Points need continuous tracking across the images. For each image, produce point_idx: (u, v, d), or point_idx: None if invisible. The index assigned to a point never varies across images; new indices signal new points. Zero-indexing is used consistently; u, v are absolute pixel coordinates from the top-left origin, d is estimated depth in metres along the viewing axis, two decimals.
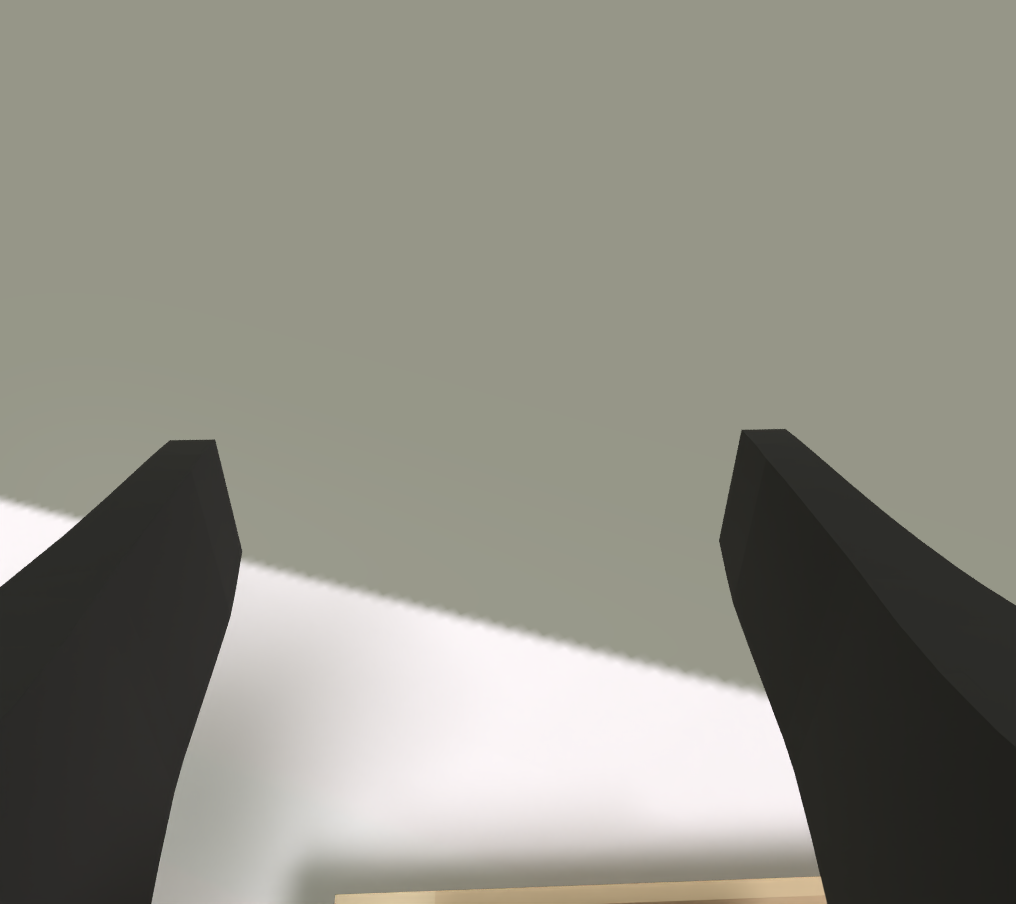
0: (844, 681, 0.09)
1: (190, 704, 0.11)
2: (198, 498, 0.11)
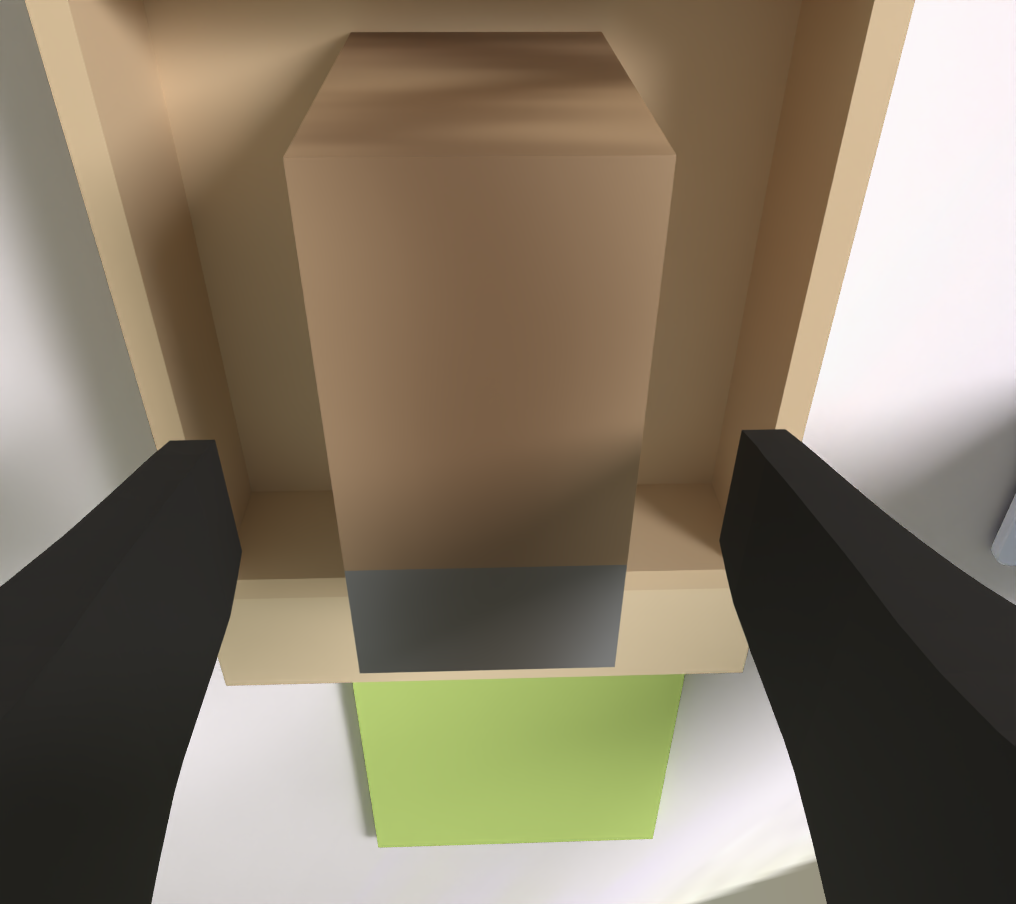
0: (844, 681, 0.09)
1: (190, 704, 0.11)
2: (198, 498, 0.11)
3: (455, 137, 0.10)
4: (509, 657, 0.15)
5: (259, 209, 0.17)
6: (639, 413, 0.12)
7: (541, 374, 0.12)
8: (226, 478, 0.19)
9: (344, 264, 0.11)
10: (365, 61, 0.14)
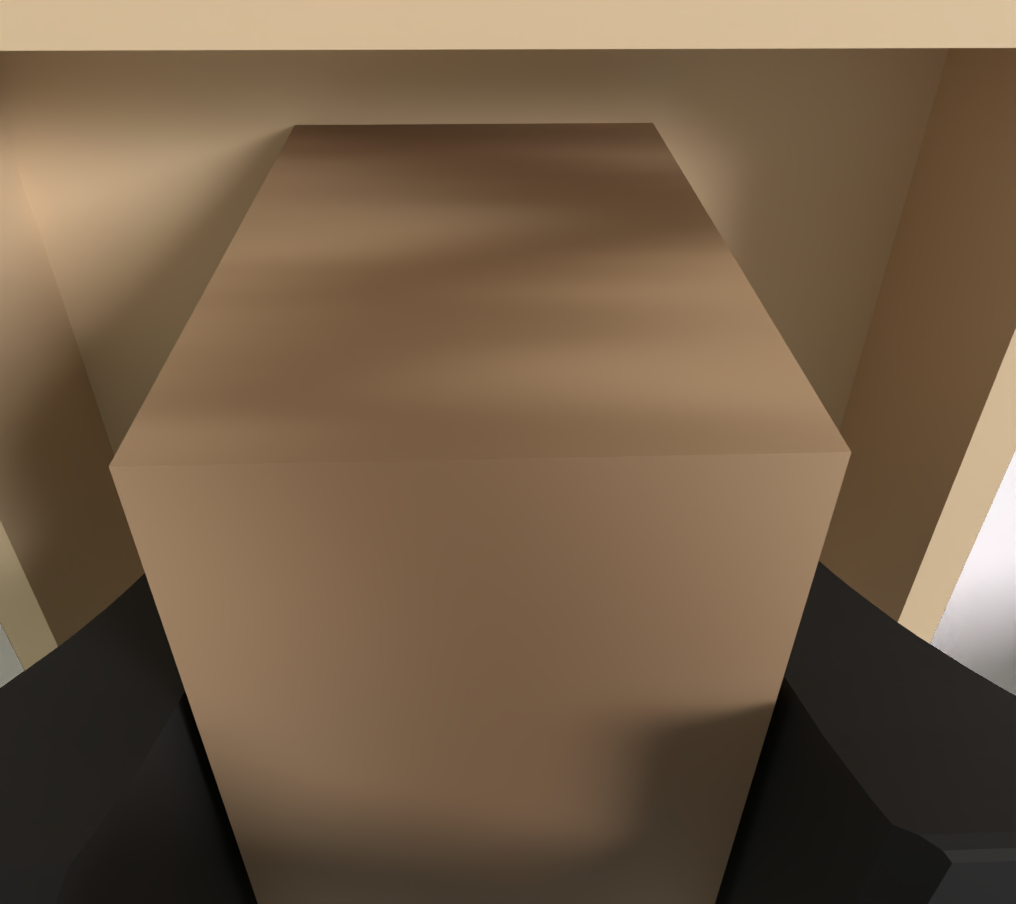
0: None
1: None
2: None
3: (438, 395, 0.06)
4: None
5: None
6: (740, 783, 0.07)
7: (584, 745, 0.07)
8: None
9: (240, 616, 0.06)
10: (306, 188, 0.09)
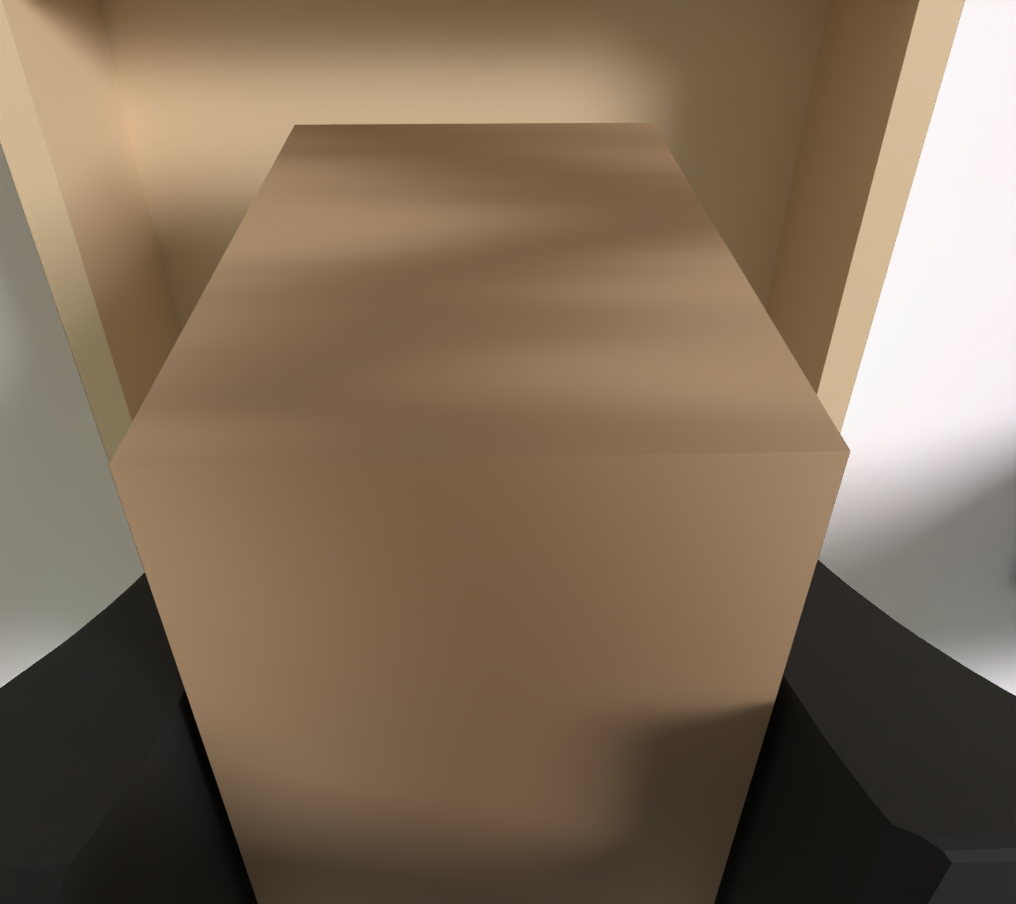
0: None
1: None
2: None
3: (436, 394, 0.06)
4: None
5: None
6: (740, 782, 0.07)
7: (584, 743, 0.07)
8: None
9: (240, 615, 0.06)
10: (306, 188, 0.09)
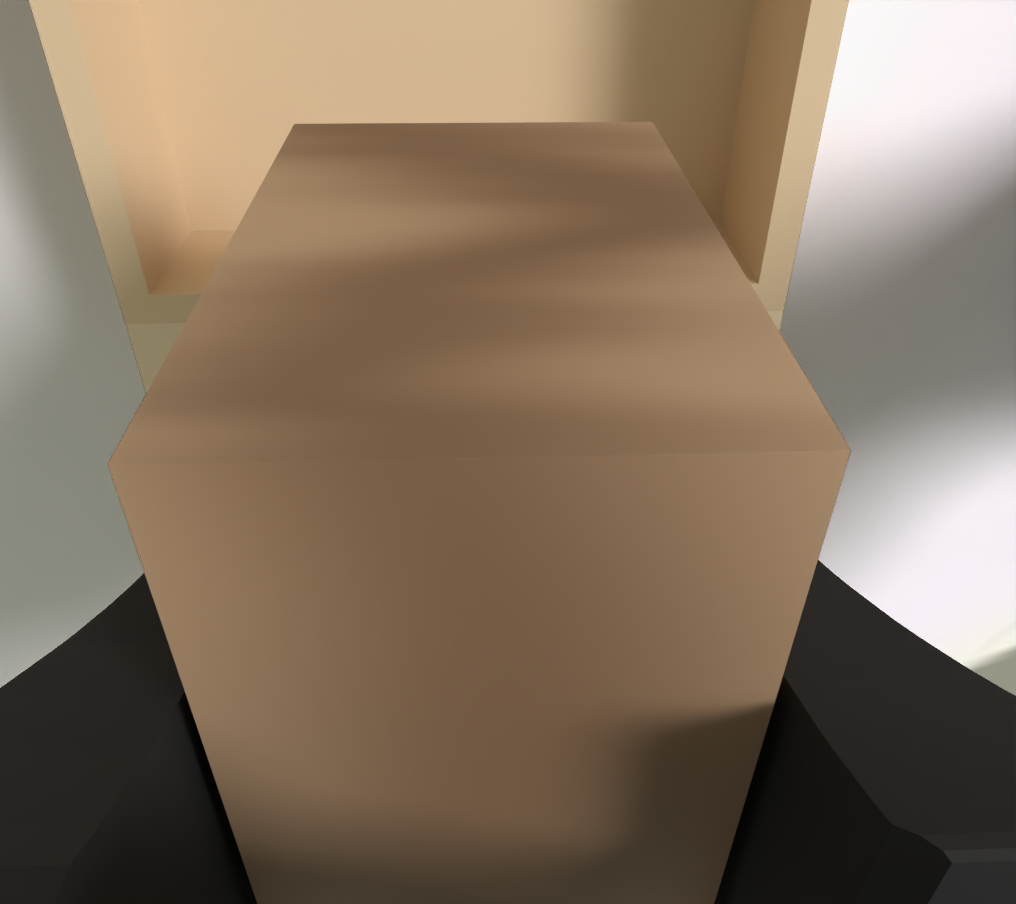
0: None
1: None
2: None
3: (436, 393, 0.06)
4: None
5: None
6: (740, 782, 0.07)
7: (584, 743, 0.07)
8: (154, 183, 0.17)
9: (239, 614, 0.06)
10: (305, 187, 0.09)
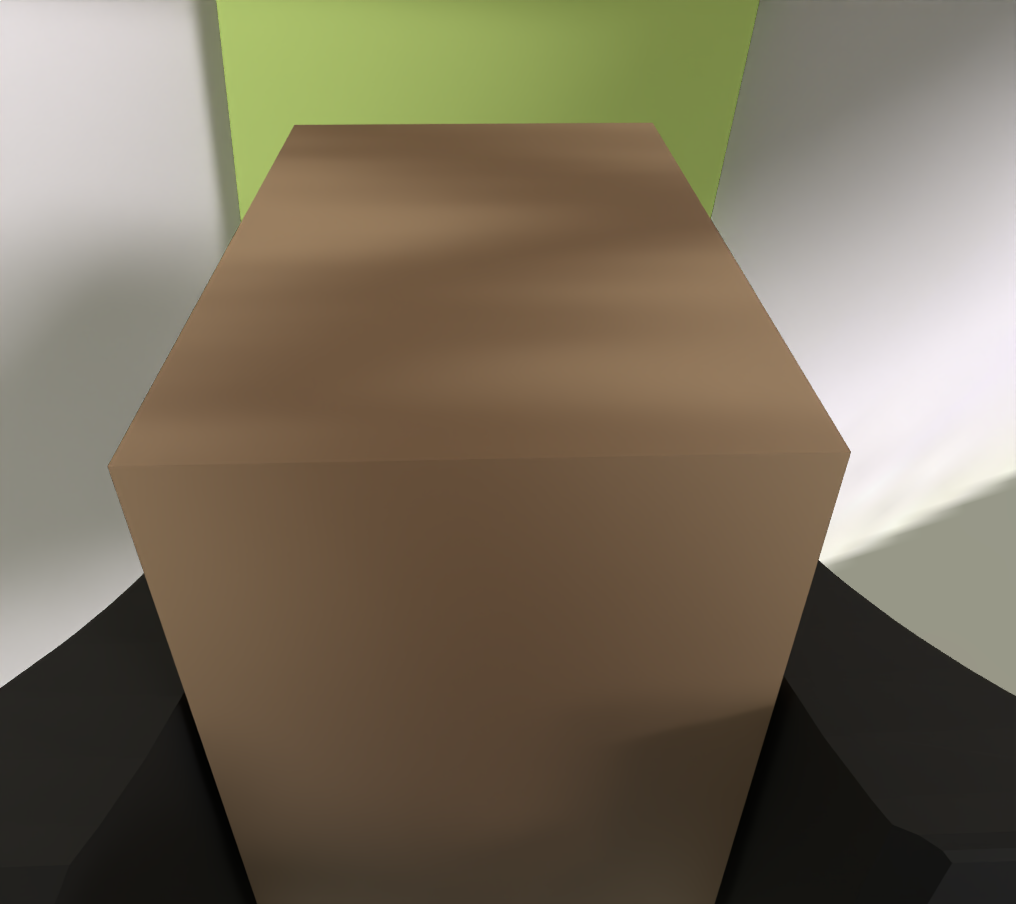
0: None
1: None
2: None
3: (436, 395, 0.06)
4: None
5: None
6: (740, 783, 0.07)
7: (584, 744, 0.07)
8: None
9: (239, 615, 0.06)
10: (306, 188, 0.09)
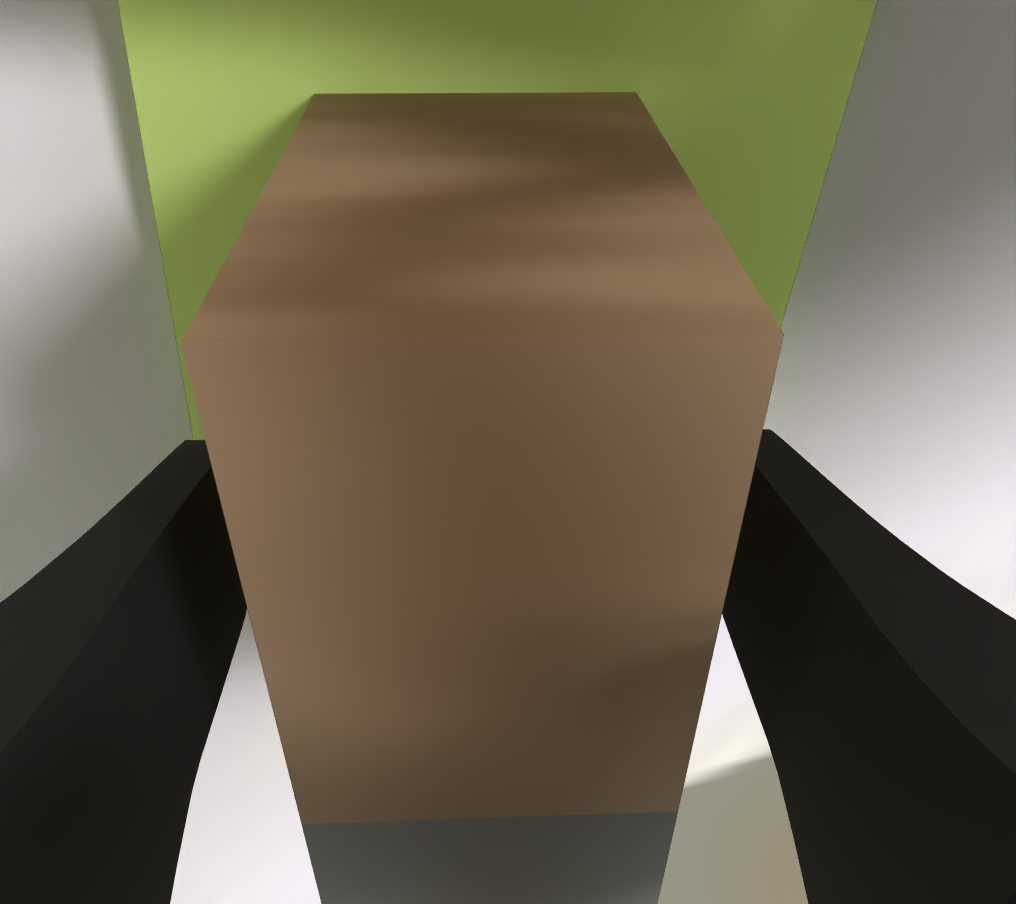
0: (824, 681, 0.09)
1: (207, 703, 0.11)
2: (214, 498, 0.11)
3: (445, 295, 0.07)
4: None
5: None
6: (705, 649, 0.09)
7: (570, 608, 0.08)
8: None
9: (282, 480, 0.07)
10: (327, 144, 0.10)
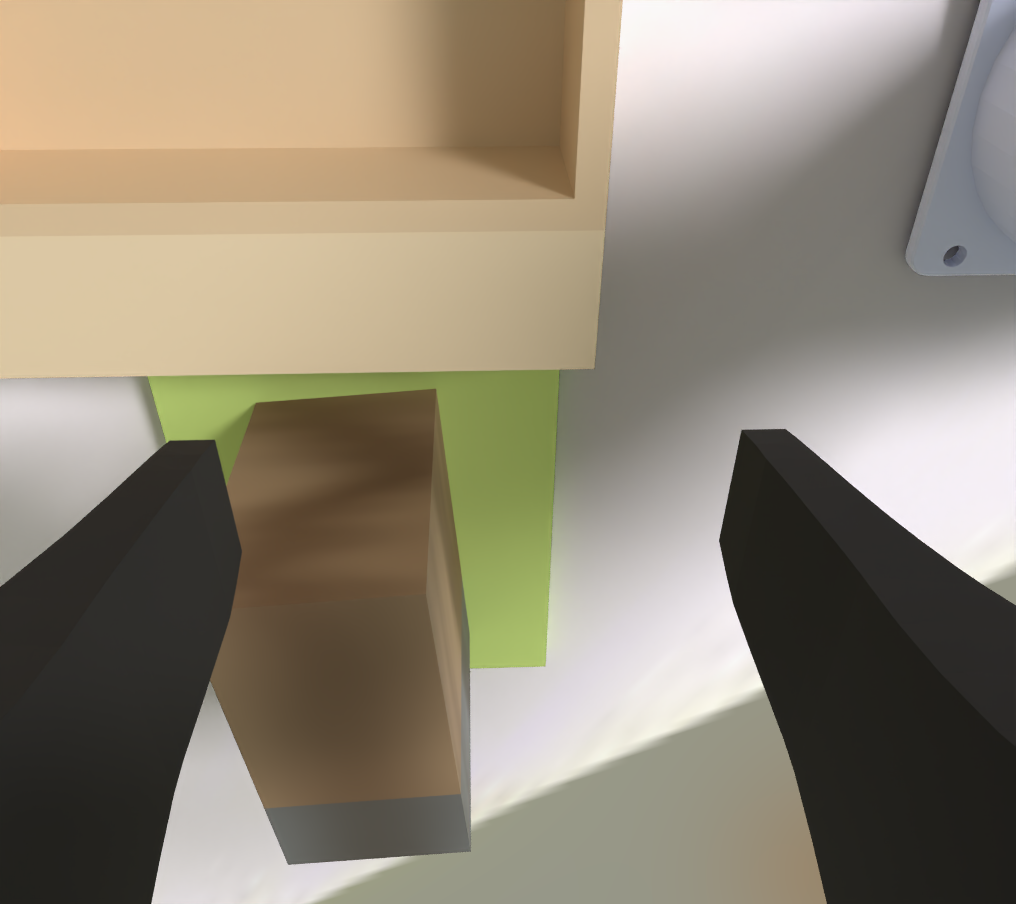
0: (844, 681, 0.09)
1: (190, 704, 0.11)
2: (198, 498, 0.11)
3: (292, 576, 0.16)
4: (392, 850, 0.21)
5: None
6: (443, 714, 0.18)
7: (371, 700, 0.18)
8: None
9: (229, 657, 0.17)
10: (257, 456, 0.20)
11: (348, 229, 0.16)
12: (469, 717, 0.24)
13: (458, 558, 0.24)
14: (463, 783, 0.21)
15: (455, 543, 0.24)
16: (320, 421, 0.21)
